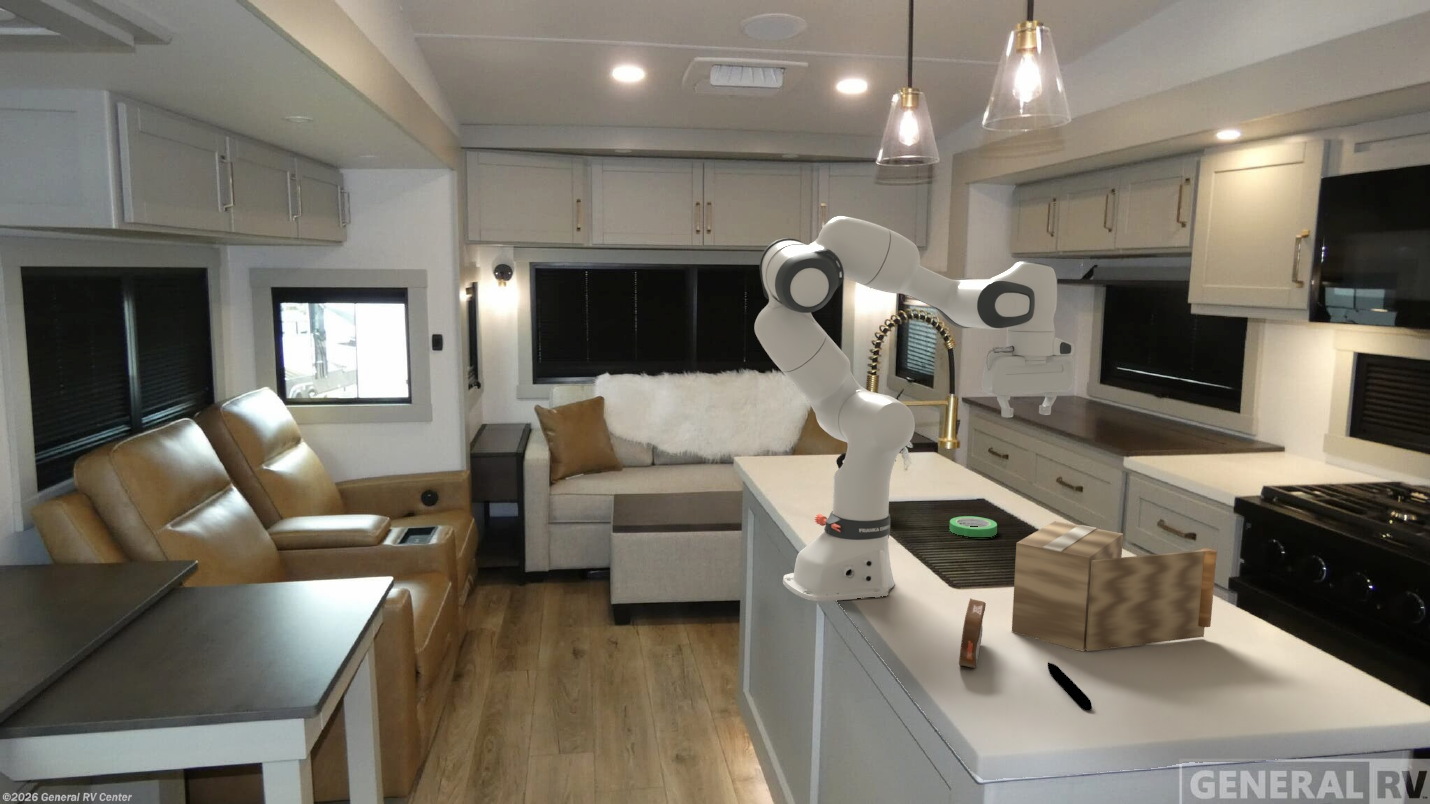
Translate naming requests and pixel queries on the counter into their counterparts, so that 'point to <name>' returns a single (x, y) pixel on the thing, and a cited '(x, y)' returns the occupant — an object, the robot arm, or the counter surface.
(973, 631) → the tin
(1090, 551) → the carton
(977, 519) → the tape roll
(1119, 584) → the carton flap
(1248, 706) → the counter surface
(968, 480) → the counter surface
